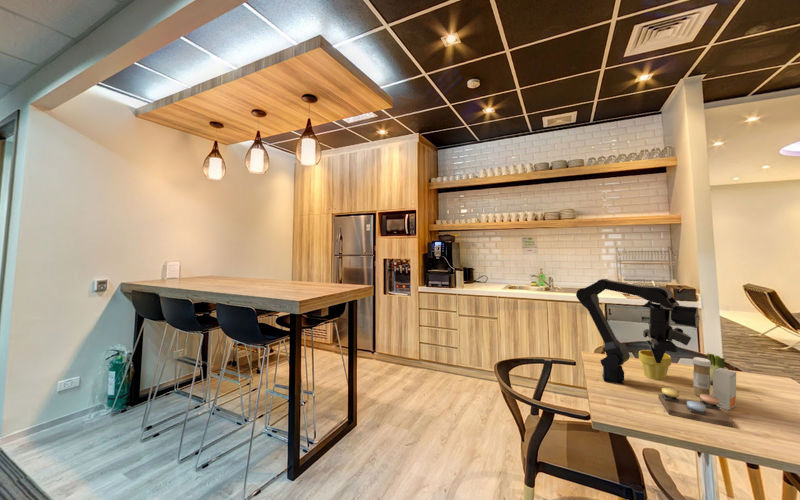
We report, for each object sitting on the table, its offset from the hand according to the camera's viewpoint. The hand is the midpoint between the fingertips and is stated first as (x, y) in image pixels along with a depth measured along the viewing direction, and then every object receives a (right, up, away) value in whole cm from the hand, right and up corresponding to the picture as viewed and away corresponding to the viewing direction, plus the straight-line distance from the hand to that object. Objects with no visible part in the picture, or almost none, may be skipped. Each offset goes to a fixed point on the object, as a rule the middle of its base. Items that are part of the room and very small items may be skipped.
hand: (658, 362), depth 112 cm
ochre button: (-1, -9, -6) cm, 12 cm away
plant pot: (+11, -12, +15) cm, 22 cm away
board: (+2, -12, -11) cm, 17 cm away
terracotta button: (+8, -10, -11) cm, 16 cm away
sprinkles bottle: (+15, -12, -1) cm, 19 cm away
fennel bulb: (+29, -12, +8) cm, 32 cm away
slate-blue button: (0, -10, -14) cm, 17 cm away
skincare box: (+16, -12, -8) cm, 22 cm away
